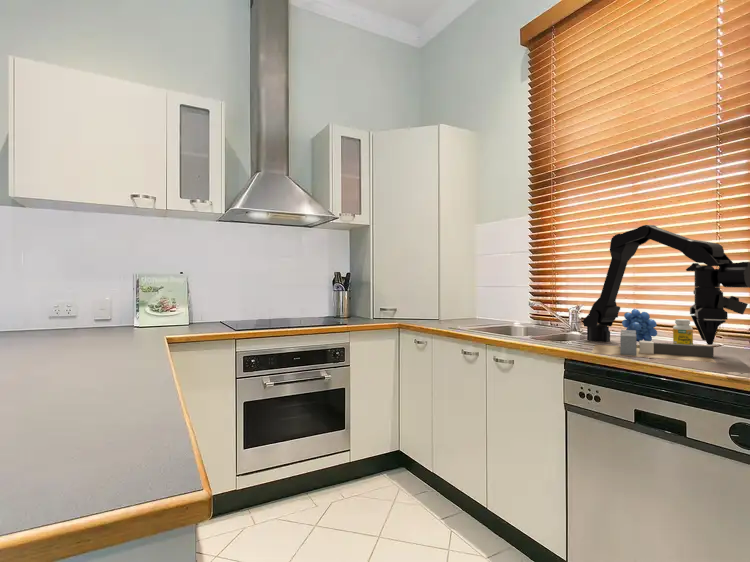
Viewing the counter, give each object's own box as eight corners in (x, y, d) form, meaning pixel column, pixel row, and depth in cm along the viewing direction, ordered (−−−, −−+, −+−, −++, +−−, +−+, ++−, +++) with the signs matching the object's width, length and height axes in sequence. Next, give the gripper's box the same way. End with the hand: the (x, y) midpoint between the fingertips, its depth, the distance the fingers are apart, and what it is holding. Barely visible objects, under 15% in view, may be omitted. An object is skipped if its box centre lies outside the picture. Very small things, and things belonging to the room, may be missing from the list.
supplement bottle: (689, 347, 143) (689, 319, 143) (695, 350, 138) (695, 320, 138) (670, 346, 144) (670, 318, 144) (676, 349, 139) (676, 320, 139)
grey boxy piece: (620, 354, 124) (620, 335, 124) (621, 346, 137) (621, 329, 137) (636, 355, 122) (636, 336, 122) (635, 347, 135) (635, 330, 135)
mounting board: (591, 357, 127) (591, 353, 127) (595, 348, 142) (595, 344, 142) (716, 367, 112) (716, 362, 112) (706, 356, 127) (706, 352, 127)
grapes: (617, 341, 157) (617, 309, 157) (624, 339, 162) (624, 308, 162) (652, 345, 148) (652, 310, 148) (659, 343, 153) (659, 309, 152)
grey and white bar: (634, 352, 127) (634, 341, 127) (634, 350, 130) (634, 340, 130) (714, 358, 117) (714, 346, 117) (711, 356, 121) (711, 344, 121)
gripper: (753, 288, 107) (753, 349, 107) (736, 286, 123) (737, 340, 123) (698, 287, 113) (698, 346, 113) (689, 286, 129) (689, 337, 129)
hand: (707, 342), depth 120 cm, fingers open, 9 cm apart
